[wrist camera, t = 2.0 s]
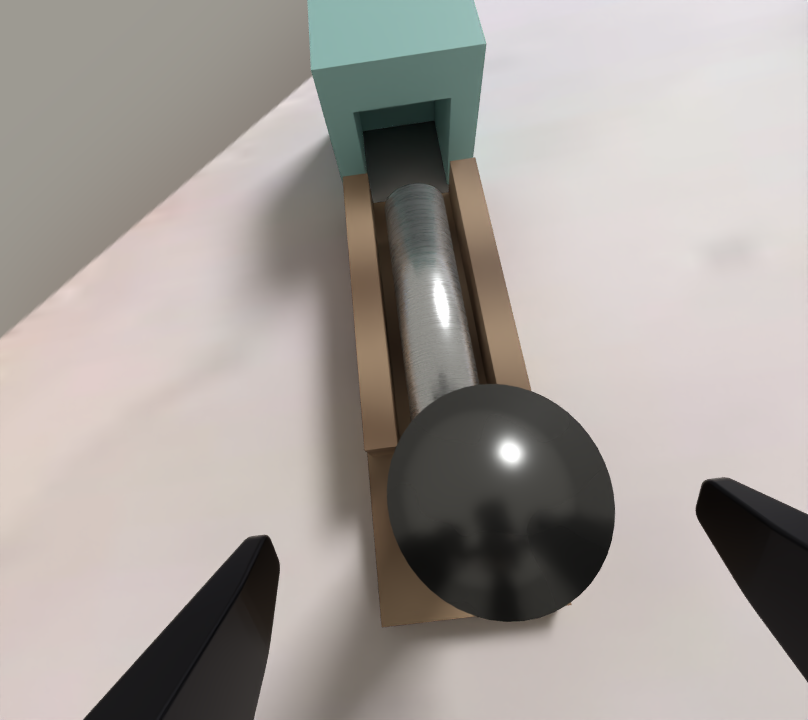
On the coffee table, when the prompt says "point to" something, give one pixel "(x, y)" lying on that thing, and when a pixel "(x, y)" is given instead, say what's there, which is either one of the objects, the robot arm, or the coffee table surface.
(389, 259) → the guide
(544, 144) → the coffee table surface
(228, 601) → the robot arm
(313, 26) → the socket block
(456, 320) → the slip rod
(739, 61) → the coffee table surface
